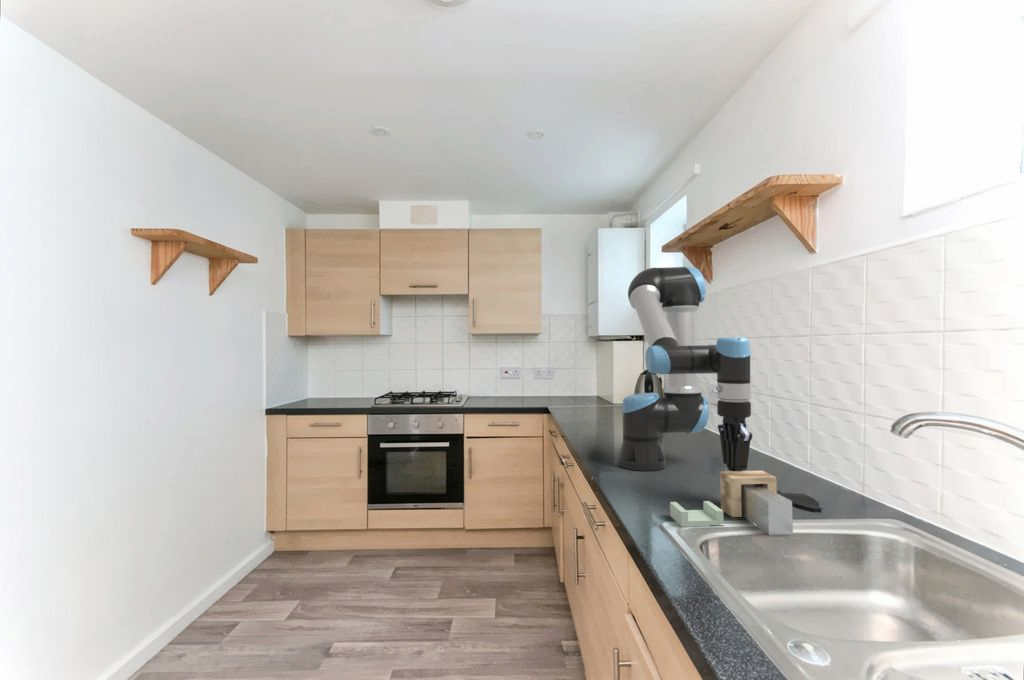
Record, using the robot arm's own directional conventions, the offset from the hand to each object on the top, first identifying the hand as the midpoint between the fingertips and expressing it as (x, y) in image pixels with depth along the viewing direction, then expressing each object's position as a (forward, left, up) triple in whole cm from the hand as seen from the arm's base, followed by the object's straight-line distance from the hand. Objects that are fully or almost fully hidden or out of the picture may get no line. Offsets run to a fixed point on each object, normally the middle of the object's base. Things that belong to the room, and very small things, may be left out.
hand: (735, 496), depth 122 cm
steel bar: (+11, 0, -2) cm, 11 cm away
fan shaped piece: (-1, +16, -3) cm, 16 cm away
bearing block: (+6, 0, -2) cm, 7 cm away
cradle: (+10, -14, -2) cm, 17 cm away
